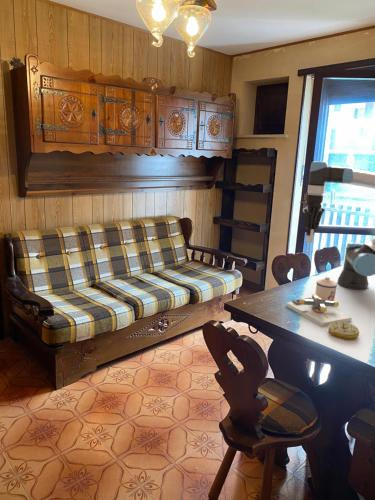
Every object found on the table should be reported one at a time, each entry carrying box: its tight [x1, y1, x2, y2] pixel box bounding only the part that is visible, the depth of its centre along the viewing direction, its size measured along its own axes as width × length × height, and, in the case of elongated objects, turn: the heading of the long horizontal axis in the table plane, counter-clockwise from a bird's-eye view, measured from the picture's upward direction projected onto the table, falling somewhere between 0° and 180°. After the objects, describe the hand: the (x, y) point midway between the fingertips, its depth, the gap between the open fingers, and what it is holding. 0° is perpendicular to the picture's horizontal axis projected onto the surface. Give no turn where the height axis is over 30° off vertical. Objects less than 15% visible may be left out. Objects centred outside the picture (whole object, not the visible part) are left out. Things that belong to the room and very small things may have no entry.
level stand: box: [286, 297, 352, 327], centre depth 166 cm, size 16×22×3 cm
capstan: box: [299, 293, 340, 313], centre depth 165 cm, size 17×17×5 cm
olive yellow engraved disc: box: [328, 322, 360, 341], centre depth 147 cm, size 10×11×4 cm
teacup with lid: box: [314, 276, 338, 301], centre depth 181 cm, size 12×9×12 cm
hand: (309, 241), depth 192 cm, fingers closed
